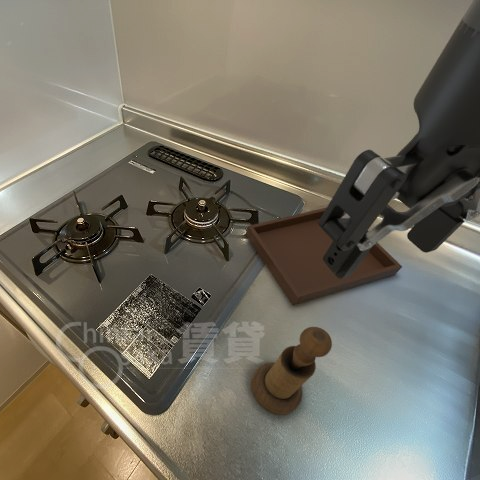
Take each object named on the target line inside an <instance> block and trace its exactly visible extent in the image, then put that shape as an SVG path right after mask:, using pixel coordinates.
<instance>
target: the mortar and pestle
mask: <svg viewBox="0 0 480 480" xmlns="http://www.w3.org/2000/svg"><path fill="white" fill-rule="evenodd" d="M332 347H333V341H332V338H331V335H330V334H329V333H328V331H326V330H325V329H323V328H321V327H319V326H308V327H306V328H304V329H303V330H302V331H301V333H300V335H299V343H298V344H297V345H291V346H288V347H285V348H284V350H282V352H281V354H280V355H279V356H278V358H277V359H276V361H275V362H274V361H272V362H266V363H263V364H261V365H260V366H259V367H258V368H257V369H256V370H255V372H254V373H253V375H252V377H251V381H250V388H251V393H252V396H253V397H254V399H255V401H256V402H257V403H258V405H259V406H260V407H261V408H262V409H264V410H265V411H266V412H268V413H270V414H273V415H277V416H286V415H289V414H291V413H293V412H294V411H295V410H296V409H297V408H298V407H299V405H301V402H302V399H303V387H302V386H303V385H305V383H306V382H307V381H308V380H309V379H310V378H312V377H313V376H314V374H315V372H316V369H317V366H316V365H317V363H316V358H322V357H325V356H327V355H328V354H329V353H330V352H331V350H332Z"/></svg>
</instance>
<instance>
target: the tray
mask: <svg viewBox="0 0 480 480" xmlns="http://www.w3.org/2000/svg"><path fill="white" fill-rule="evenodd" d="M326 208H327V207H323V208H319V209H314V210H310V211H305V212H301V213H297V214H293V215H289V216H284V217H280V218H276V219H272V220H267V221H263V222H258V223H255V224H249V225H247V228H246V232H245V237H246V239H248V242H250V244H251V245H252V247H253V248H254V250H255V251H256V253H257V254H258V255H259V257H260V259H261V260H262V262H263V263H264V265H265V266H266V268H267V269H268V271H269V272H270V274H271V275H272V276H273V278H274V280H275V281H276V283H277V284H278V286H279V287H280V289H281V290H282V291H283V293H284V295H285V296H286V298H287V299H288V301H289V302H290V304H292V306H295V305H299V304H304V303H306V302H309V301H313V300H316V299H320V298H323V297H326V296H329V295H333V294H337V293H340V292H343V291H346V290H350V289H353V288H356V287H360V286H364V285H366V284H370V283H374V282H378V281H381V280H384V279H387V278H391V277H394V276H396V275H397V273H398V272H399V271H400V270H401V269H402V268H403V265H402V264H400V263H399V261H397V260H396V259H395V257H393V256H392V254H390V253H389V252H388V251H387V250H386V249H385V248H384V247H383V246H382V245H381V244H380V243H379V242H377V243H376V244H374V245H373V246H372V247H371V249H370V251H369V252H368V253H367V254H366V256H365V257H364V258H363V260H362V261H361V262H360V263H359V265H358V266H357V267H356V269H355V270H354V271H353V273H352V274H351V275H350V276H348V277H345V278H341V279H340V278H338V277H337V276H336V275H335V274H334V273H333V272H332V271H331V270H330V268H329V267H328V266H327V265H326V264H325V262H324V261H323V257H324V255H325V253H326V252H327V250H328V249H329V247H330V245H331V244H332V242H333V240H332V239H331V238H330V237H329V236H328V235H327V234H326V233H325V232H324V230H323V229H322V228H321V227H320V226H319V225H318V222H319V220H320V218H321V217H322V215H323V213H324V211H325V210H326ZM345 214H346V212H344V213H343V215H342V216H341V217H343V216H344V215H345Z"/></svg>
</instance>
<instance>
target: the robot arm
mask: <svg viewBox="0 0 480 480" xmlns="http://www.w3.org/2000/svg"><path fill="white" fill-rule="evenodd" d="M413 111H414V112H415V114H416V117H417V120H418V127H419V128H418V131H417V133H416V134H415V135H414V136H413V137H412V139H410V141H409V142H408V143H406V145H405V146H404V147H403V148H401V149H400V151H398V153H397V154H396V156H395V155H394V156H389V157H382V156H381V155H380V154H378V153H377V152H375V151H374V150H372V149H366V150H363V151H362V152H361V153H359V154H358V155H357V156H356V157H355V158H354V160H353V162H352V164H351V165H350V167H349V169H348V170H347V172H346V174H345V175H344V177H343V179H342V181H341V183H340V184H339V186H338V187H337V189H336V191H335V193H334V194H333V196H332V198H331V200H330V201H329V203H328V205H327V206H326V207H325V208H326V210H325V211H324V213H323V215H322V217H321V218H320V220H319V222H318V225H319V226H320V227H321V228H322V229H323V230H324V232H325V233H326V234H327V235H328V236H329V237H330V238H331V239H332V240H333V242H332V244H331V245H330V247H329V249H328V250H327V252H326V253H325V255H324V257H323V261H324V262H325V264H326V265H327V266H328V267H329V268H330V270H331V271H332V272H333V273H334V274H335V275H336V276H337V277H338V278H340V279H341V278H345V277H348V276H350V275H351V274H352V273H353V271H354V270H355V269H356V267H357V266H358V265H359V263H360V262H361V261H362V260H363V258H364V257H365V256H366V254H367V253H368V252H369V251H370V249H371V247H372V246H373V245H374V244H376V243H379V242H380V241H382V240H383V239H385V237H387V236H388V235H390V234H391V233H392V232H394V231H398V232H405V231H408V230H409V231H408V232H407V234H406V238H407V239H408V241H409V242H411V243H412V244H413V246H415V247H416V248H417V249H419V251H421V252H422V253H426V254H427V253H430V252H431V253H432V252H434V251H437V249H438V248H440V247H441V246H442V244H444V243H445V242H446V240H448V238H450V237H451V236H452V235H453V234H454V233H455V232H456V231H457V230H458V229H459V228H460V227H461V226H462V225H463V224H464V223H465V221H471V220H473V219H477V218H478V217H479V216H480V0H472V1H471V3H470V4H469V6H468V7H467V9H466V11H465V13H464V15H463V16H462V18H461V19H460V21H459V22H458V24H457V26H456V27H455V30H454V31H453V33H452V34H451V36H450V38H449V39H448V41H447V43H446V44H445V46H444V48H443V49H442V50H441V53H440V55H439V56H438V58H437V59H436V61H435V63H434V64H433V66H432V68H431V69H430V71H429V72H428V74H427V77H426V78H425V79H424V81H423V83H422V84H421V87H420V88H419V89H418V91H417V93H416V95H415V96H414V98H413ZM396 199H397V200H398V201H400V202H401V203H402V204H403V205H404V206H405V207H407V208H408V210H405V211H397V210H396V209H394V208H393V207H392V206H391V205H389V203H390V202H391V200H396ZM344 212H346V214H345V215H344V216H343V217H341V216H342V215H343V213H344ZM379 216H381V218H382V220H381V221H380V222H379V223H378V224H376V225H375V226H374V227H372V228H371V226H372V225H373V224H374V223H375V222H376V220H377V219H378V218H379ZM370 228H371V229H370ZM369 229H370V230H369Z"/></svg>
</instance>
